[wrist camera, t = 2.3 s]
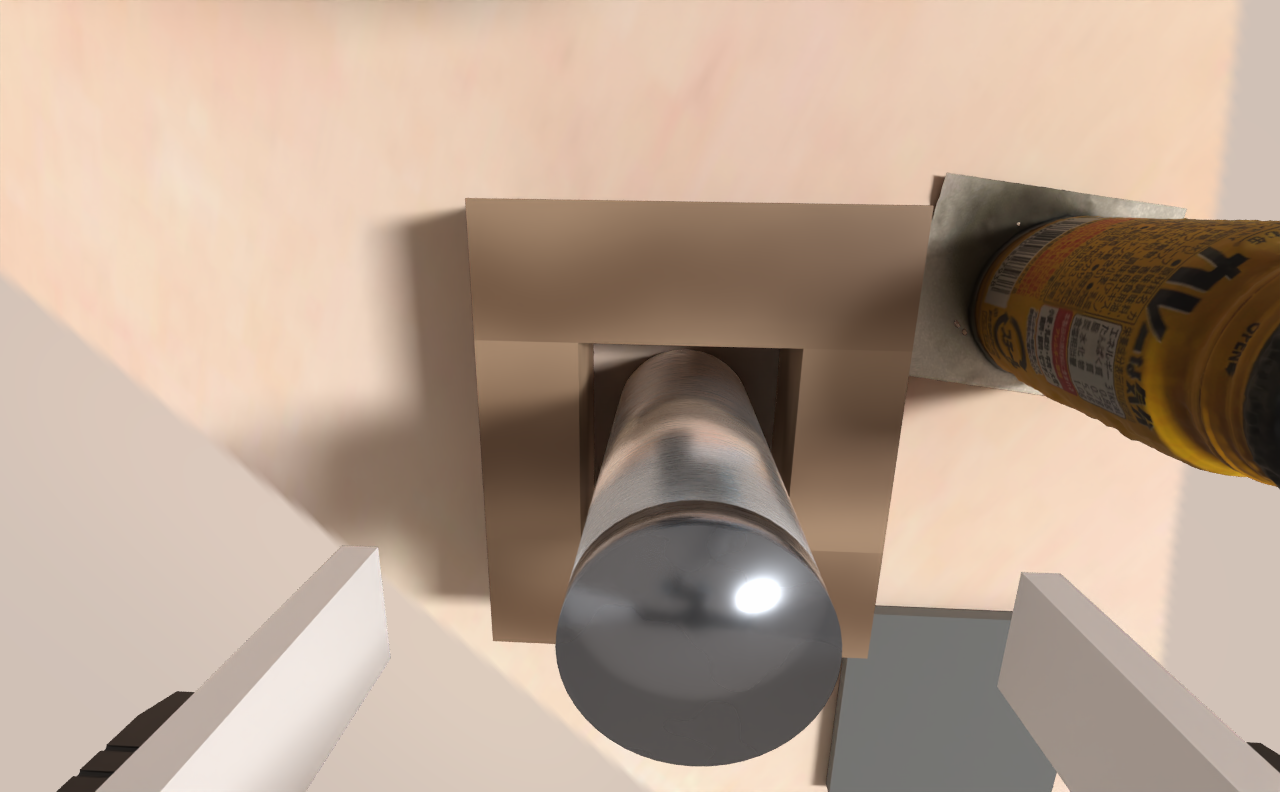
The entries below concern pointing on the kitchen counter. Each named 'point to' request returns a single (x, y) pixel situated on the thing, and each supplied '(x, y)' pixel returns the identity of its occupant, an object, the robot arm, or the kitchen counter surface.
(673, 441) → the plug
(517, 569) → the housing
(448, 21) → the kitchen counter surface
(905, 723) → the mat
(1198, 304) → the condiment
